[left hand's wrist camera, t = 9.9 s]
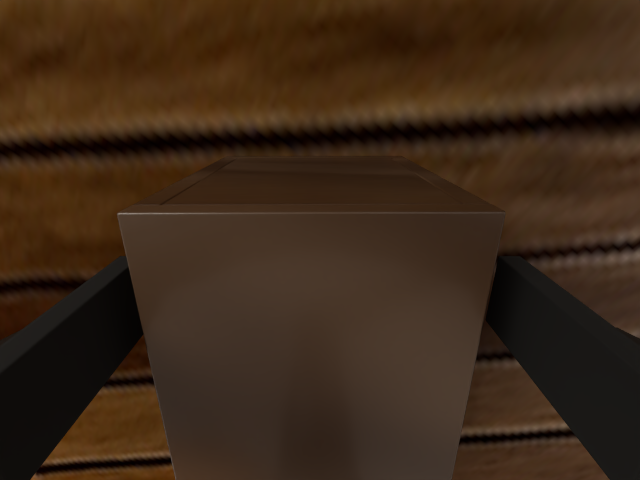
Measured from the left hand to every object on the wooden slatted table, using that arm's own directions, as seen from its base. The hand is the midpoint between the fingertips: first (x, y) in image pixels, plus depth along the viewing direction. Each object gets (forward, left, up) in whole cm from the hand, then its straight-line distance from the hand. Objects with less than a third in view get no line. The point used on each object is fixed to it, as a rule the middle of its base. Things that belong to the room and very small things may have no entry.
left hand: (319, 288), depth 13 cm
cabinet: (+1, +4, -9) cm, 10 cm away
